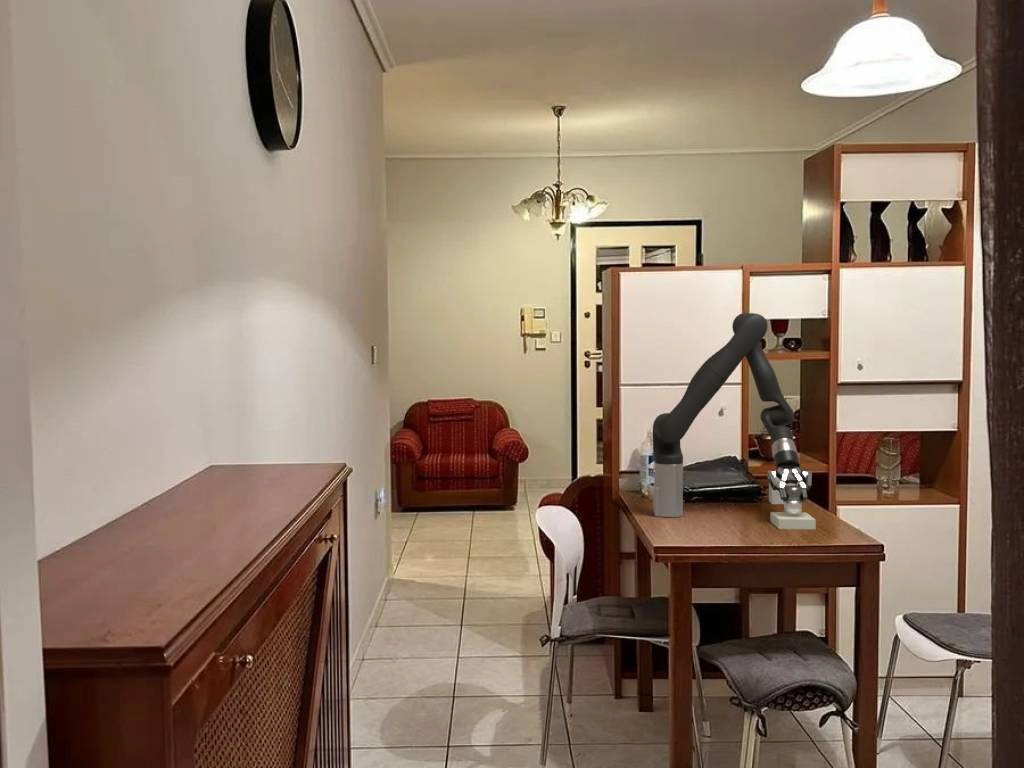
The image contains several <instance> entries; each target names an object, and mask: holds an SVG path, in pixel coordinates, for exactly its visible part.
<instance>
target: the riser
mask: <svg viewBox="0 0 1024 768" xmlns="http://www.w3.org/2000/svg"><path fill="white" fill-rule="evenodd" d="M769 517H770V519H769V520H770V523H771V524H773V525H774V526H775V528H777V529H778V530H816V528H817V526H816V525H817V523H816V522H817V521H816V520H817V519H815V518H814V517H813V516H811V515H810V514H809V513H807V512H804V511H803V512H802V513H801V514H788V513H784V511H770V516H769Z"/></svg>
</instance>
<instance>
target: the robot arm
mask: <svg viewBox="0 0 1024 768" xmlns="http://www.w3.org/2000/svg"><path fill="white" fill-rule="evenodd" d="M731 327H732V331H733V336H731V338H730V339H729V341H727V343H726V344H725V345H723V346H722V347H721V348H720V349H719V350H718V351H716V352H715V353H714V354H712V355H711V356H710V357H709V358H707V359H706V360H705V361H704V363H702V364H701V366H700V367H699V368H698V369H697V371H696V372H695V374H694V375H693V376H692V377H691V380H690V381H689V382H688V385H687V388H686V389H685V392H684V394H683V396H682V398H681V400H680V401H679V402H678V403H677V405H675V407H674V408H673V409H672V410H671V411H670V412H665V413H662V414H659V415H657V417H655V419H654V421H653V423H652V452H653V453H652V454H653V458H654V467H653V469H654V471H653V473H654V475H653V476H654V478H653V479H654V481H653V482H654V483H653V485H652V486H653V488H652V489H653V490H652V491H653V493H652V495H653V498H652V499H653V500H652V501H653V504H652V505H653V506H652V508H653V509H652V510H653V511H652V513H653V514H654V516H655V517H660V518H679V517H682V516H683V515H684V514H683V510H684V509H683V505H684V504H683V502H684V500H683V499H684V498H683V497H684V496H683V495H684V490H683V489H684V488H683V487H684V455H683V452H682V448H681V447H682V446H681V440H682V439H683V438H684V437H685V435H686V434H687V433H688V431H689V429H690V427H691V426H692V425H693V423H694V421H695V419H696V418H697V416H698V415H699V414H700V413H701V412H702V411H703V409H704V408H705V407H706V406H707V405H708V404H709V403H710V401H711V400H712V399H713V398H714V396H716V394H717V393H718V392H719V391H720V389H722V387H723V386H724V384H725V383H726V382H727V381H728V379H729V378H730V376H731V375H732V374H733V372H734V371H735V370H736V369H737V368H738V366H739V365H740V364H741V362H742V360H743V359H744V358H745V359H746V361H747V363H748V367H749V369H750V371H751V375H752V377H753V381H754V385H755V386H756V390H757V393H758V396H759V398H760V400H761V401H762V402H764V403H765V402H766V403H769V402H771V403H772V402H774V403H776V404H778V405H773V406H769V407H765V408H764V409H762V411H761V412H760V421H761V423H762V425H763V426H764V428H765V429H766V431H767V433H768V435H769V438H770V442H771V450H772V451H771V453H772V459H773V463H774V467H775V471H772V470H768V471H767V475H766V478H767V481H768V484H769V483H770V485H771V487H772V489H773V490H778V491H779V493H780V498H781V500H783V502H786V499H787V497H786V492H785V488H784V485H785V484H789V483H792V484H795V486H801V487H802V503H803V502H805V501H806V500H807V499H808V493H807V492H808V491H810V490H811V487H812V479H813V478H812V477H813V476H812V475H813V472H812V470H808V471H804V470H803V469H802V468H801V465H800V460H799V455H798V450H797V446H796V443H795V441H794V435H793V432H792V430H791V428H790V427H789V426H787V425H790V424H792V423H793V422H794V419H795V413H794V410H793V409H792V407H791V405H790V404H789V403H788V401H787V400H786V398H785V396H784V395H783V393H782V390H781V388H780V385H779V382H778V378H777V375H776V372H775V370H774V369H773V366H772V364H771V363H770V361H769V359H768V358H767V356H766V355H765V352H764V350H763V347H762V344H761V341H762V339H763V338H764V337H765V336H766V333H767V332H768V321H767V319H766V318H765V317H764V315H762V314H759V313H754V312H753V313H751V312H743V313H739V314H738V315H736V317H735V318H734V319H733V321H732V326H731ZM775 475H776V476H777V477H778V478H779V479H780V480H781V483H780V485H778V484H777V482H776V480H775ZM802 476H803V478H804V479H805V482H804V481H803V478H802Z"/></svg>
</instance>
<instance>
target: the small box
mask: <svg viewBox="0 0 1024 768" xmlns="http://www.w3.org/2000/svg"><path fill="white" fill-rule="evenodd" d="M775 480H776V482H777V484H778V485H780V483H781V480H780V479H779V478H778V477H777V476H776V475H775ZM787 485H795V484H792V483H789V484H785V485H784V486H787ZM795 486H796V485H795ZM768 502H769V503H770V504H771V505H784V502H783V500H781V498H780V493H779V491H778V490H773V489H772V487H771V485H770V483H769V482H768Z"/></svg>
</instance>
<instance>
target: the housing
mask: <svg viewBox="0 0 1024 768" xmlns="http://www.w3.org/2000/svg"><path fill="white" fill-rule="evenodd" d="M784 488H785V492H786V497H787V499H786V502H784V504H783V507H784V508H783V512H784V513H788V514H801V513H802V511H803V510H802V507H803V506H802V505H803V504H802V503H803V502H802V487H801V486H796V485H787V486H784Z"/></svg>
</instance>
